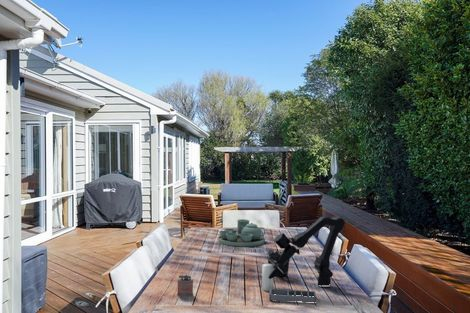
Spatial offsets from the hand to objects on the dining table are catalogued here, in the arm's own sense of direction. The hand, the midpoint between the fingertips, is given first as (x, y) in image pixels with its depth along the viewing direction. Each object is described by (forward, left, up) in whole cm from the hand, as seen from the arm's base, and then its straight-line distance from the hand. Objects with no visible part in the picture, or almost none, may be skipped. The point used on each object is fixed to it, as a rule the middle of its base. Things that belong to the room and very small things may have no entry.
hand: (266, 275), depth 210 cm
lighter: (+40, +16, -7) cm, 44 cm away
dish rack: (-14, +12, -7) cm, 20 cm away
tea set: (+27, -120, -8) cm, 123 cm away
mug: (-8, -24, -7) cm, 26 cm away
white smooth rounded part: (-1, 0, -7) cm, 7 cm away
